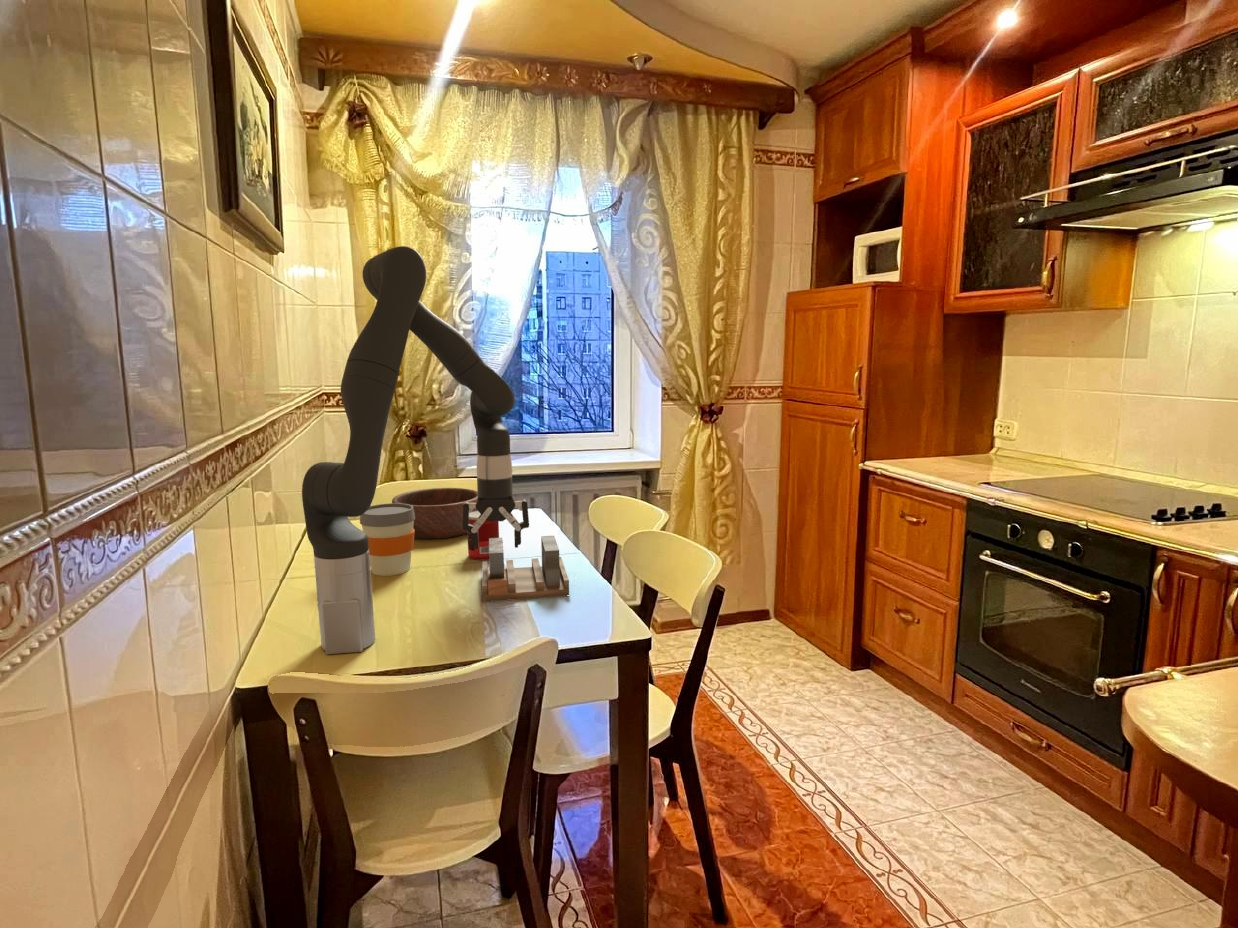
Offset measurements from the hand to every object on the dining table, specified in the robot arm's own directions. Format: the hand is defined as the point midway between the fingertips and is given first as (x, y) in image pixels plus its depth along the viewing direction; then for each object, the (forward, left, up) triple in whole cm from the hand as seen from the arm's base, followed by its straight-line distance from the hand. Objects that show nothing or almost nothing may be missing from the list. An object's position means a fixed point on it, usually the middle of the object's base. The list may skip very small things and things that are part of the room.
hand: (496, 547), depth 158 cm
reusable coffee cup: (+19, +25, -10) cm, 33 cm away
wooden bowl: (+54, +16, -10) cm, 57 cm away
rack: (0, -6, -9) cm, 11 cm away
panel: (+1, 0, -8) cm, 8 cm away
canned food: (+26, +3, -10) cm, 27 cm away
